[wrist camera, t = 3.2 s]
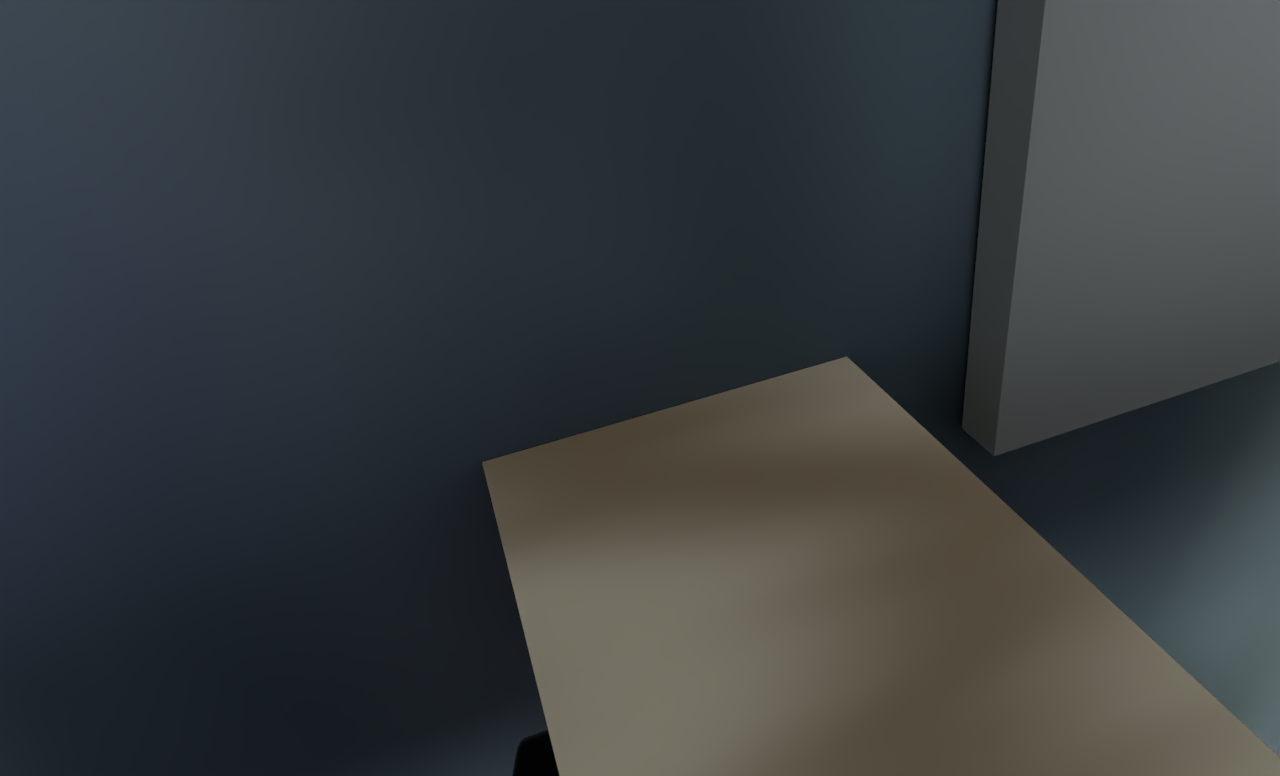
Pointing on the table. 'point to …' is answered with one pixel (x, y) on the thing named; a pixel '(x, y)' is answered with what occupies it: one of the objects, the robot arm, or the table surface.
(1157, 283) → the pad
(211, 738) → the table surface
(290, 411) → the table surface
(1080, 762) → the block
